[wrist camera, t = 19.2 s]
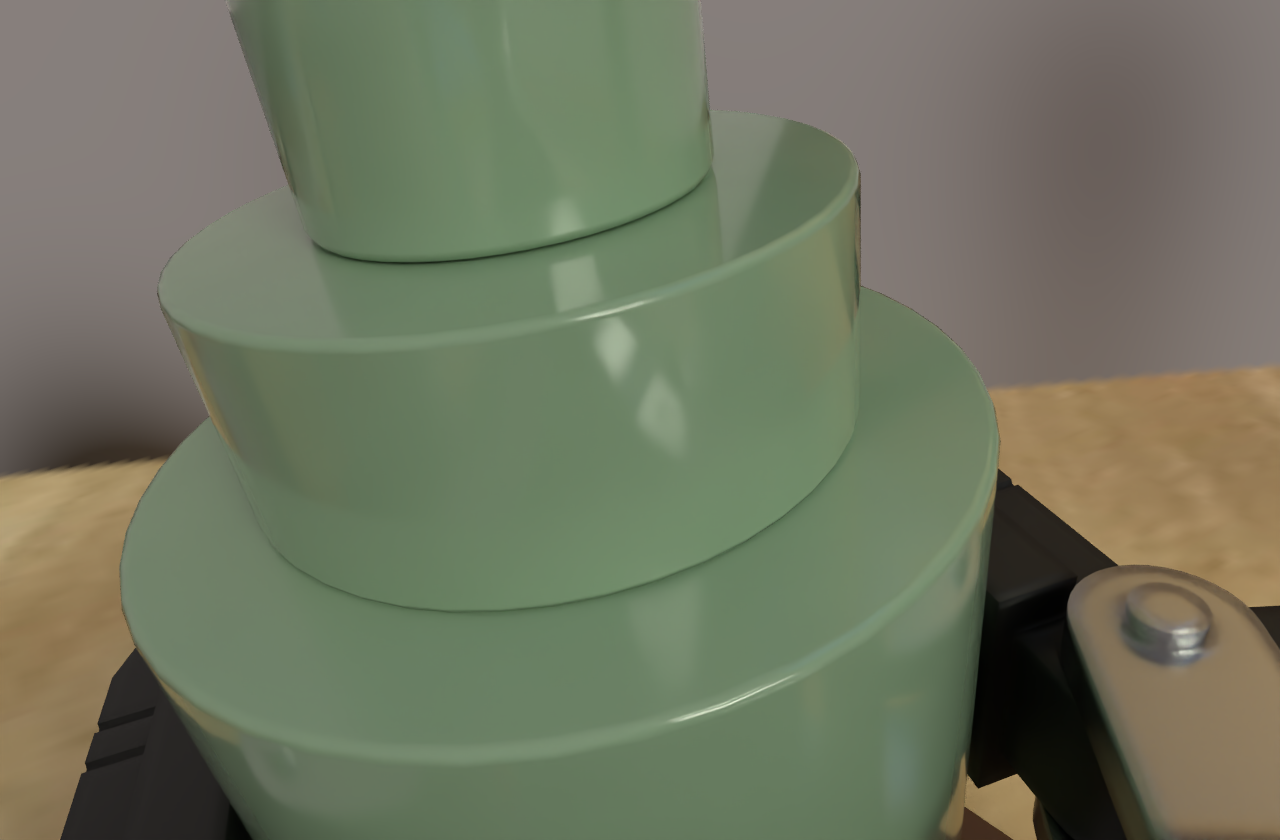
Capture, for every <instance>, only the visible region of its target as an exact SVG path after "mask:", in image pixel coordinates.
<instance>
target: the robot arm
mask: <svg viewBox="0 0 1280 840" xmlns="http://www.w3.org/2000/svg"><path fill="white" fill-rule="evenodd" d="M98 726H99V732H97V733H94V736H93V740H92V743H91V746H90V749H89V752H88V755H87V758H86V761H85V764H86V768H87V771H86V772H85V773H82V774H81V777H80V780H79V783H78V786H77V789H76V792H75V795H74V799H73V802H72V805H71V808H70V811H69V814H68V817H67V820H66V823H65V827H64V830H63V833H62V836H61V839H60V840H252V838H251V837H250V835H249V833H248V832H247V830H246V828H245V827H244V825H243V823H242V822H241V820H240V819H239V817H238V815H237V814H236V812H235V810H234V809H233V807H232V805H231V804H230V802H229V800H228V799H227V797H226V795H225V794H224V792H223V790H222V789H221V787H220V785H219V784H218V782H217V781H216V779H215V777H214V776H213V774H212V772H211V771H210V769H209V767H208V766H207V764H206V762H205V761H204V759H203V757H202V756H201V754H200V752H199V751H198V749H197V747H196V746H195V744H194V742H193V741H192V739H191V738H190V736H189V734H188V733H187V731H186V729H185V728H184V726H183V724H182V723H181V721H180V719H179V718H178V716H177V714H176V713H175V711H174V709H173V708H172V706H171V704H170V703H169V701H168V700H167V698H166V696H165V695H164V693H163V691H162V690H161V688H160V686H159V685H158V683H157V681H156V680H155V678H154V676H153V675H152V673H151V671H150V670H149V668H148V666H147V665H146V663H145V661H144V660H143V658H142V657H141V655H140V653H139V652H138V650H137V648H135V649H134V651H133V652H132V653H131V655H130V656H129V657H128V658H127V660H126V661H125V662H124V664H123V665H122V666H121V667H120V669H119V670H118V671H117V673H116V674H115V675H114V676H113V678H112V681H111V684H110V687H109V690H108V693H107V696H106V699H105V702H104V705H103V708H102V712H101V715H100V718H99V721H98ZM1015 774H1018V775H1019V776H1020V777H1021V779H1022V780H1023V781H1024V782H1025V784H1026V785H1027V786H1028V787H1029V789H1030V790H1031V791H1032V792H1033V794H1034V795H1035V802H1034V808H1033V823H1034V829H1035V833H1036V837H1037V840H1280V606H1265V607H1247V606H1246V605H1245V604H1244V603H1243V602H1242V601H1241V600H1239V599H1238V598H1236V597H1235V596H1234V595H1232V594H1231V593H1229V592H1228V591H1226V590H1224V589H1222V588H1221V587H1219V586H1217V585H1215V584H1213V583H1211V582H1209V581H1206V580H1204V579H1202V578H1200V577H1197V576H1194V575H1191V574H1188V573H1185V572H1182V571H1178V570H1173V569H1169V568H1164V567H1157V566H1150V565H1124V566H1118V565H1117V564H1116V563H1115V562H1113V561H1112V560H1111V559H1110V558H1108V557H1107V556H1106V555H1105V554H1103V553H1102V552H1101V551H1100V550H1098V549H1097V548H1096V547H1095V546H1093V545H1092V544H1091V543H1090V542H1089V541H1087V540H1086V539H1085V538H1084V537H1082V536H1081V535H1080V534H1079V533H1077V532H1076V531H1075V530H1074V529H1072V528H1071V527H1070V526H1069V525H1067V524H1066V523H1065V522H1064V521H1063V520H1061V519H1060V518H1059V517H1058V516H1056V515H1055V514H1054V513H1053V512H1051V511H1050V510H1049V509H1048V508H1046V507H1045V506H1044V505H1043V504H1041V503H1040V502H1039V501H1038V500H1036V499H1035V498H1034V497H1033V496H1032V495H1030V494H1029V493H1028V492H1027V491H1025V490H1024V489H1023V488H1022V487H1020V486H1019V485H1016V486H1014V485H1013V484H1012V481H1011V479H1010V478H1009V477H1008V476H1007V475H1005V474H1004V473H1003V472H1002V471H1001V470H999V469H998V474H997V485H996V495H995V505H994V515H993V525H992V535H991V545H990V555H989V565H988V574H987V584H986V594H985V604H984V614H983V624H982V634H981V644H980V654H979V664H978V674H977V684H976V694H975V704H974V714H973V724H972V734H971V744H970V754H969V764H968V775H969V777H970V778H971V780H972V781H973V782H974V784H975V785H976V786H977V788H981V787H983V786H986V785H989V784H991V783H994V782H997V781H999V780H1002V779H1004V778H1007V777H1010V776H1012V775H1015Z"/></svg>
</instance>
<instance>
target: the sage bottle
mask: <svg viewBox="0 0 1280 840" xmlns="http://www.w3.org/2000/svg"><path fill="white" fill-rule="evenodd" d="M225 2H226V5H227V8H228V11H229V13H230V17H231V20H232V22H233V25H234V28H235V31H236V34H237V37H238V40H239V43H240V46H241V49H242V51H243V54H244V57H245V60H246V63H247V66H248V69H249V72H250V75H251V77H252V80H253V83H254V86H255V89H256V92H257V95H258V98H259V101H260V103H261V107H262V110H263V112H264V115H265V118H266V121H267V124H268V127H269V129H270V133H271V136H272V138H273V141H274V144H275V147H276V150H277V153H278V156H279V159H280V162H281V164H282V168H283V170H284V173H285V176H286V179H287V182H288V185H287V186H285V187H282V188H279V189H277V190H275V191H273V192H271V193H269V194H266V195H264V196H262V197H259V198H257V199H255V200H253V201H251V202H249V203H247V204H245V205H243V206H241V207H239V208H238V209H236V210H234V211H232V212H230V213H228V214H227V215H225V216H223V217H222V218H220V219H218V220H217V221H215V222H214V223H212V224H210V225H209V226H207V227H206V228H204V229H203V230H201V231H200V232H199V233H197V234H196V235H195V236H194V237H192V238H191V239H190V240H188V241H187V242H186V243H184V244H183V245H182V246H181V247H180V248H179V249H178V251H177V252H175V253H174V254H173V255H172V256H171V258H170V259H169V260H168V262H167V264H166V265H165V267H164V268H163V270H162V271H161V274H160V278H159V282H158V287H157V295H158V300H159V304H160V308H161V310H162V313H163V315H164V317H165V319H166V321H167V323H168V326H169V328H170V330H171V332H172V335H173V337H174V339H175V341H176V343H177V346H178V348H179V350H180V352H181V354H182V356H183V359H184V361H185V363H186V365H187V368H188V370H189V372H190V374H191V376H192V379H193V381H194V383H195V385H196V387H197V390H198V392H199V394H200V396H201V398H202V401H203V403H204V405H205V407H206V409H207V411H208V414H209V416H208V418H206V419H205V420H204V421H203V422H202V423H201V424H200V425H199V426H198V427H197V428H196V429H195V430H194V431H193V432H192V433H191V434H190V435H189V436H188V437H187V438H185V439H184V441H182V443H181V444H180V445H179V446H178V447H177V449H176V450H175V451H174V452H173V453H172V455H171V456H170V457H169V458H168V459H167V460H166V462H165V463H164V464H163V465H162V466H161V468H160V469H159V470H158V472H157V473H156V475H155V476H154V478H153V480H152V481H151V483H150V484H149V486H148V488H147V489H146V491H145V492H144V494H143V496H142V497H141V499H140V500H139V503H138V505H137V507H136V510H135V512H134V515H133V517H132V519H131V522H130V524H129V527H128V529H127V531H126V535H125V540H124V546H123V551H122V556H121V562H120V590H121V606H122V612H123V614H124V617H125V620H126V623H127V626H128V628H129V631H130V634H131V637H132V640H133V642H134V645H135V647H136V648H137V650H138V652H139V653H140V655H141V657H142V658H143V660H144V661H145V663H146V665H147V666H148V668H149V670H150V671H151V673H152V675H153V676H154V678H155V680H156V681H157V683H158V685H159V686H160V688H161V690H162V691H163V693H164V695H165V696H166V698H167V700H168V701H169V703H170V704H171V706H172V708H173V709H174V711H175V713H176V714H177V716H178V718H179V719H180V721H181V723H182V724H183V726H184V728H185V729H186V731H187V733H188V734H189V736H190V738H191V739H192V741H193V742H194V744H195V746H196V747H197V749H198V751H199V752H200V754H201V756H202V757H203V759H204V761H205V762H206V764H207V766H208V767H209V769H210V771H211V772H212V774H213V776H214V777H215V779H216V781H217V782H218V784H219V785H220V787H221V789H222V790H223V792H224V794H225V795H226V797H227V799H228V800H229V802H230V804H231V805H232V807H233V809H234V810H235V812H236V814H237V815H238V817H239V819H240V820H241V822H242V823H243V825H244V827H245V828H246V830H247V832H248V833H249V835H250V837H251V838H252V840H961V834H962V824H963V814H964V804H965V794H966V784H967V774H968V764H969V754H970V744H971V734H972V724H973V714H974V704H975V694H976V684H977V674H978V664H979V654H980V644H981V634H982V624H983V614H984V604H985V594H986V584H987V574H988V565H989V555H990V545H991V535H992V525H993V515H994V505H995V495H996V485H997V474H998V464H999V453H1000V442H1001V441H1000V435H999V429H998V423H997V417H996V411H995V407H994V405H993V402H992V400H991V398H990V396H989V393H988V391H987V389H986V386H985V384H984V382H983V380H982V377H981V375H980V373H979V372H978V370H977V369H976V368H975V366H974V365H973V364H972V362H971V361H970V359H969V358H968V357H967V356H966V354H965V353H964V351H963V350H962V349H961V348H960V347H959V346H958V345H957V344H956V343H955V342H954V341H953V340H952V339H951V338H950V337H949V336H947V335H946V334H945V333H944V332H943V331H942V330H941V329H940V328H939V327H938V326H936V325H935V324H933V323H932V322H930V321H929V320H927V319H926V318H924V317H923V316H921V315H920V314H918V313H917V312H915V311H914V310H913V309H911V308H909V307H907V306H905V305H903V304H901V303H899V302H897V301H895V300H893V299H891V298H889V297H887V296H885V295H883V294H881V293H879V292H876V291H873V290H871V289H868V288H865V287H863V286H861V283H860V282H861V278H860V276H861V275H860V274H861V263H860V262H861V259H860V258H861V251H860V249H861V247H860V246H861V244H860V243H861V240H860V239H861V235H860V233H861V227H860V226H861V225H860V224H861V219H860V218H861V217H860V214H861V210H860V208H861V207H860V206H861V201H860V200H861V198H860V196H861V195H860V194H861V193H860V192H861V191H860V190H861V189H860V188H861V184H860V183H861V179H860V178H861V177H860V176H861V173H860V170H859V167H858V164H857V161H856V158H855V156H854V154H853V152H852V151H851V150H850V149H849V148H848V147H847V146H846V144H845V143H844V142H842V141H841V140H839V139H838V138H836V137H835V136H833V135H831V134H830V133H828V132H825V131H823V130H821V129H818V128H816V127H813V126H810V125H807V124H803V123H800V122H796V121H793V120H788V119H785V118H779V117H774V116H768V115H763V114H755V113H747V112H738V111H723V110H710V103H709V91H708V80H707V69H706V57H705V45H704V34H703V22H702V10H701V0H225Z"/></svg>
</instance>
